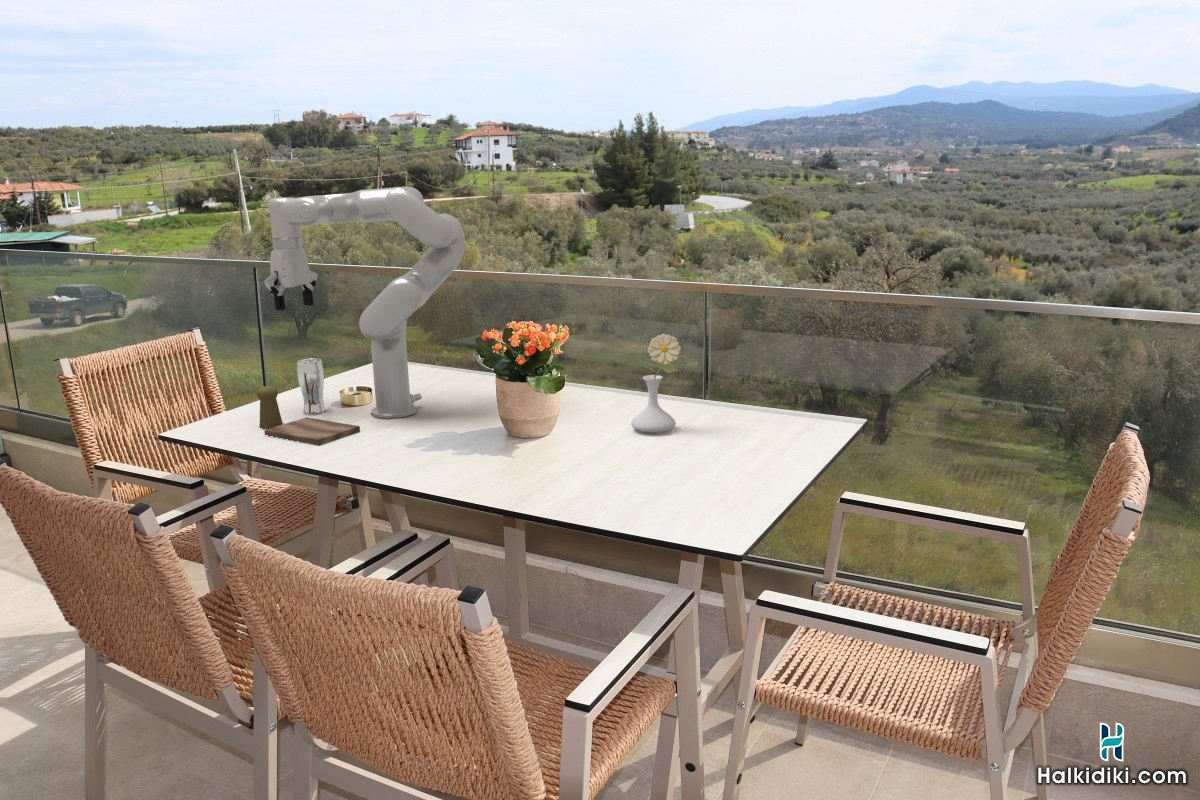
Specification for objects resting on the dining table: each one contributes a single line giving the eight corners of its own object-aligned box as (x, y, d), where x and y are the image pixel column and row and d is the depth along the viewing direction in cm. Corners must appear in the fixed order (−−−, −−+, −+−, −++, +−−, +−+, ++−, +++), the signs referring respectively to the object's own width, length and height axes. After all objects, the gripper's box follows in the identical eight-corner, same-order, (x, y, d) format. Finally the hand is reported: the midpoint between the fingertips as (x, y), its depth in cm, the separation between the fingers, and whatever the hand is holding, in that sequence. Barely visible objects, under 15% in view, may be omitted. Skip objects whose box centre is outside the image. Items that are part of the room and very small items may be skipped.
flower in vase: (625, 434, 229) (623, 336, 223) (638, 422, 240) (637, 328, 234) (675, 438, 225) (674, 338, 219) (687, 426, 235) (686, 330, 229)
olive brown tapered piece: (275, 429, 242) (270, 389, 240) (254, 429, 243) (250, 389, 241) (287, 423, 248) (282, 384, 245) (267, 423, 249) (262, 383, 246)
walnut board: (307, 422, 248) (306, 417, 248) (360, 431, 238) (359, 426, 238) (265, 435, 237) (264, 430, 236) (318, 445, 227) (318, 439, 226)
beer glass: (296, 414, 258) (290, 362, 254) (312, 408, 264) (307, 357, 260) (316, 416, 255) (311, 363, 251) (332, 410, 261) (327, 358, 258)
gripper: (303, 241, 254) (309, 302, 259) (252, 246, 240) (259, 311, 244) (322, 242, 251) (328, 304, 255) (271, 247, 236) (278, 313, 240)
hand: (294, 307), depth 250 cm, fingers open, 9 cm apart
